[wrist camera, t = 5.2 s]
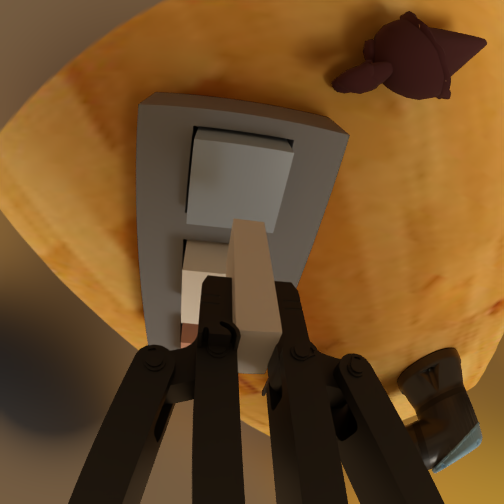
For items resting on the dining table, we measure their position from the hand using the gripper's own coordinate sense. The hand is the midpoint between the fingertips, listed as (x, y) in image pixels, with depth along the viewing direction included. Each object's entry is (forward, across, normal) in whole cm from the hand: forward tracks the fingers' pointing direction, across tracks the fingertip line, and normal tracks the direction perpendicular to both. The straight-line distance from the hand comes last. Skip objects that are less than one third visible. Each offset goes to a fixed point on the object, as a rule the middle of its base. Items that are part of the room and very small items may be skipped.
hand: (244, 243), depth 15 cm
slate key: (+9, 0, 0) cm, 9 cm away
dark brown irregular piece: (+12, -11, -13) cm, 21 cm away
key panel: (+12, 0, +8) cm, 15 cm away
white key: (+8, 0, +9) cm, 12 cm away
